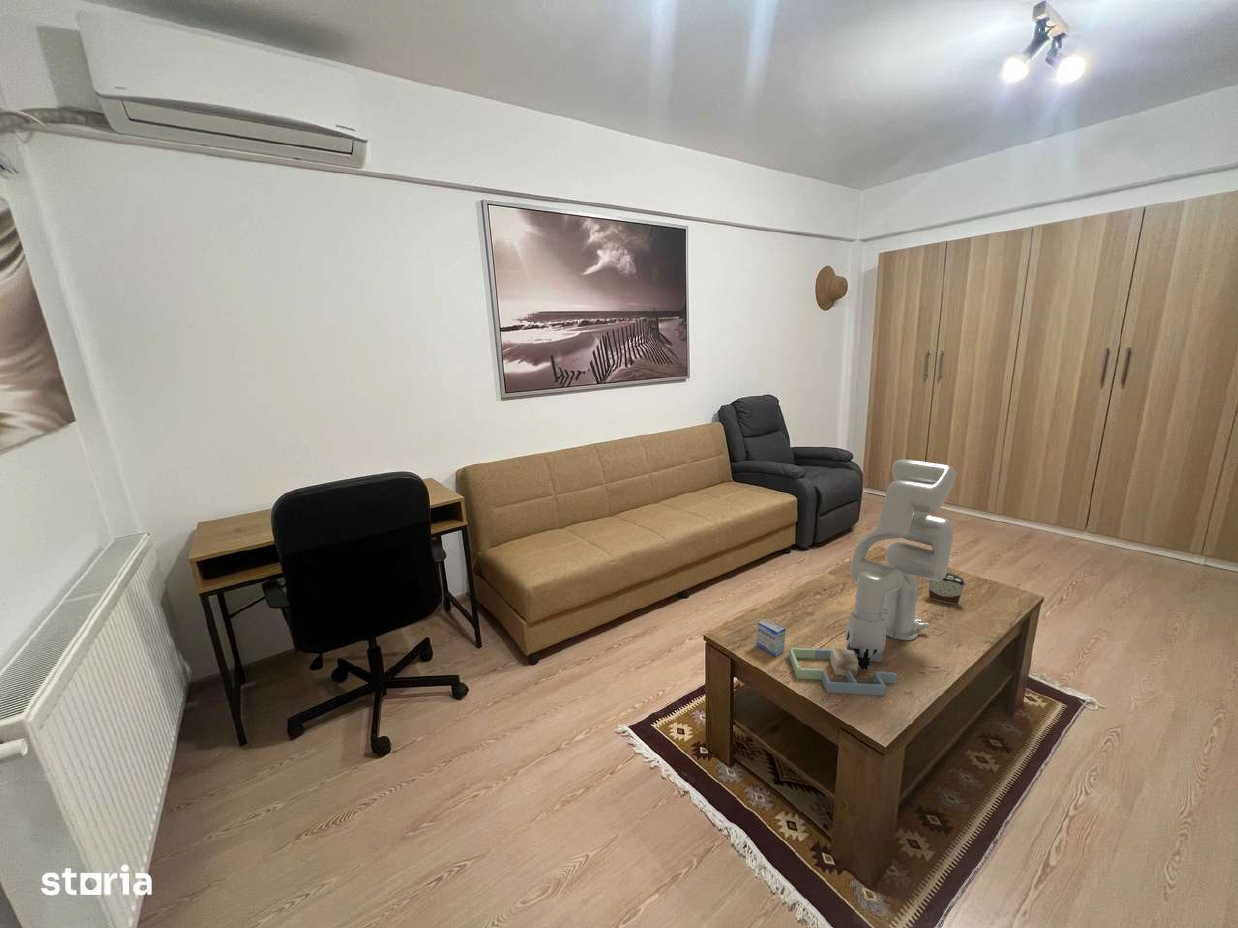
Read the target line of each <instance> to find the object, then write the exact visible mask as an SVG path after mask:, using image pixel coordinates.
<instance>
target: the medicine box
mask: <svg viewBox="0 0 1238 928" xmlns="http://www.w3.org/2000/svg"><path fill="white" fill-rule="evenodd" d="M756 628H757V631H756V641H755V642H756V643H755V644H756V647H758V648H760V649H761V650H764V651H765V652H767V653H769V654H771V655H772V656H774V657H777V656H779V655H781V654H783V653H784V652H785V644H786V643H785V642H786V631H787V629H786V628H785V627H783V626H781V625H779V624H777V623H775V622H773V621H771V620H769V619H767V618H763V619H762V620H760V621H759V622H757V627H756Z"/></svg>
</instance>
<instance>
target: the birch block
mask: <svg viewBox="0 0 1238 928" xmlns="http://www.w3.org/2000/svg"><path fill="white" fill-rule="evenodd" d="M830 649H831V657H830V659H829V662H830V663H829V664H830V665H831V667H832V670H833V671H834V674H835V675H836V676H847V670H851V672H852V674H853V676H854V677H857V676H858V668H859V665H858V660H857V658H856V656H855V654H854V652H853V651H851V650H847V648H838V647H837V648H836V647H835V648H834V647H833V648H830Z"/></svg>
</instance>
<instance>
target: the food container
mask: <svg viewBox="0 0 1238 928" xmlns="http://www.w3.org/2000/svg"><path fill="white" fill-rule="evenodd" d="M966 585H967V584H966V580H965V579H964V578H963V577H962V576H960V575H958V574H956V573H953V572H948V571H947V573H946V575H945V577H944V578H943V579H942V580H940V581H934V580H930V579H928V600H932V599H933V600H932V601H937V602H942V601H943V603H947V604H950V605H956V606H957V605H959V603H960V599H961V597H962V593H963V589H964V587H967V586H966Z"/></svg>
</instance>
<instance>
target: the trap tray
mask: <svg viewBox="0 0 1238 928" xmlns="http://www.w3.org/2000/svg"><path fill="white" fill-rule="evenodd" d="M853 652H854V654H855V656H856V658H857V657H858V654H857V653H856V652H855V651H853ZM864 652H865V650H864ZM830 657H831V648H830V649H829V648H810V647H809V648H806V647H789V649H788V658H789V660H790V663H791V665H792V668H793V671H794V673H795V676H796V679H799V680H802V679H803V680H820V681H821V682H822V684H823V686H824V688H825V691H826V693H828V694H829V693H831V694H845V695H847V694H848V695H864V696H865V695H867V696H886V691H887V690H886V689H887V685H886V684H896V683H897V676H898V675H897V673H896V672H892V671H891V672H889V671H873V678H872V681H871V680H856V678H855V676H853V674H852V672H851V670H847V675H846V679H835V678H834V679H832V678H830V679H829V676H828V674H827V672H826V669H823V668H805V667H804V668H803V667H800V665H799V662H798V659H816V660H830ZM882 660H883V651H881V652H876V653H875V654H874V655H873V656H872V658H870V662H882Z"/></svg>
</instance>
